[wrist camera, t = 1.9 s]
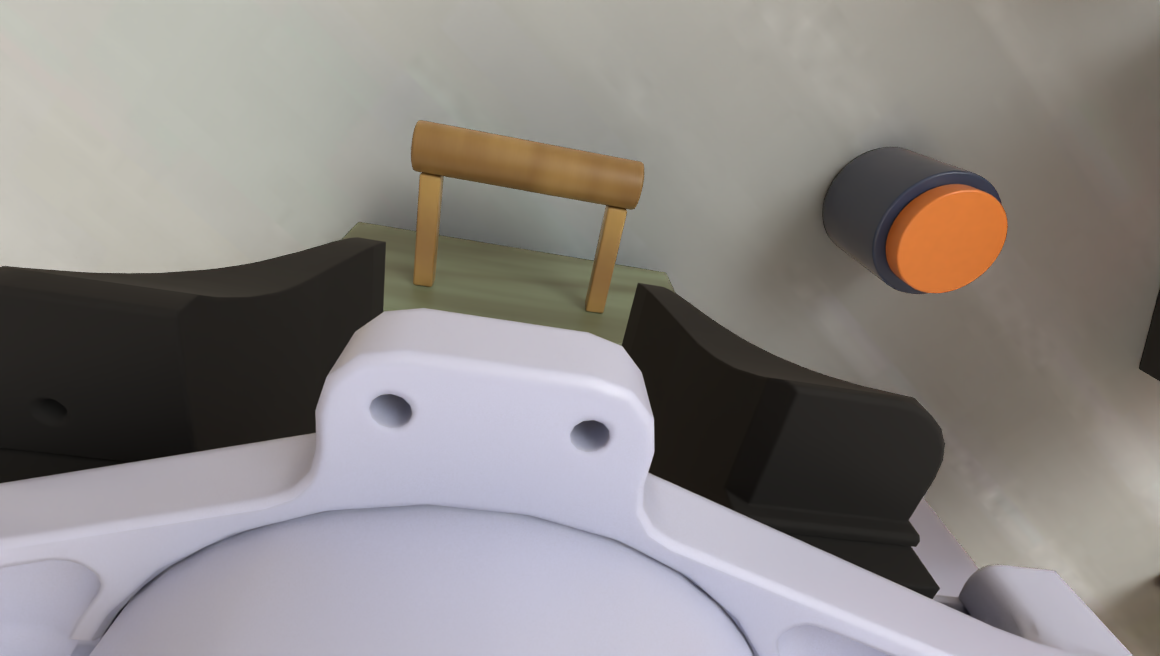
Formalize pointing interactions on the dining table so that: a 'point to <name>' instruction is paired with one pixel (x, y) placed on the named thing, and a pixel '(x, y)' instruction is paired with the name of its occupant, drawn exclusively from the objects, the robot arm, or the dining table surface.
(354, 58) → the dining table surface
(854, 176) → the navy jar orange lid
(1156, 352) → the cleaning product box
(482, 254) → the drawer
